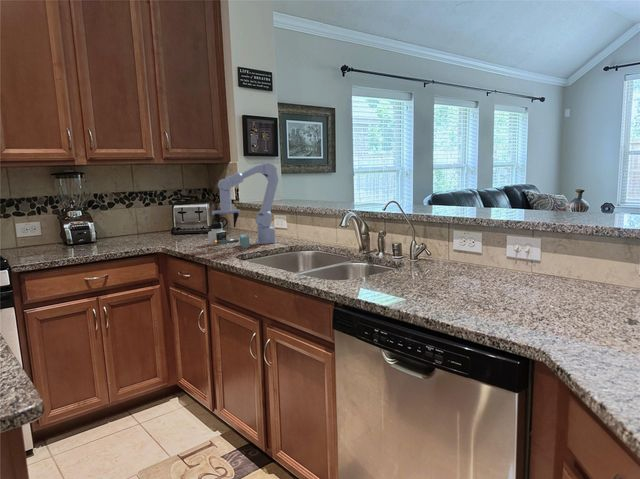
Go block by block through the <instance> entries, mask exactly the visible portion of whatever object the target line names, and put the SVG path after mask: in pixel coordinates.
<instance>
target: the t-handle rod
mask: <svg viewBox="0 0 640 479" xmlns="http://www.w3.org/2000/svg"><path fill="white" fill-rule="evenodd" d="M222 243H226V244H232V243H234V244H235V243H236V244H237V243H240V239H239V238H233V239H227V240H216V239H213V245H212V246H214V247H215V246H218V245H217V244H221V245H223V244H222Z"/></svg>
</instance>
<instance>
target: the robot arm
mask: <svg viewBox="0 0 640 479" xmlns="http://www.w3.org/2000/svg"><path fill="white" fill-rule="evenodd" d="M277 169H278V168H277V166H275V164H274V163H272V162H262V163H258V164H256V165H254V166H252V167H250V168H248V169H247V170H245V171H242V172H241V173H240V172H238V171H237V172H232V174H231V175H229V176H225V178H222V179H220V180H219V181H218V183H217V188H218V189H219V203H220V204H219V205H220V210H212V212H211V215H212V216H214V217H215V219H216V221H217V222H218V224H219V228H221V225H220V223H221V215H233V217H232V218H233V228H236V224H237V219H238V218H239V214H241V209H232V207H233V206H232V194H231V189H232V188H233V187H235V186H238V185H240V184H241V183H243V182H244V179H246V178H248V177H251V176H253V175H255V174H262V175H263V176H264V177H265V178H266V180H267V184H266V189H265V193H264V195H263V196H264V197H263V201H262V203H261V208H260V210H259V211H258V214H257V215H256V217H255V223H256V224H257V226H256V229H257V230H256V231H257V233H256V234H257V240H256V244H258V245H263V244H276V234H275V231H276V230H275V226H271V225H272V212H271V211H272V208H273V203H274V199H275V196H276V191H277V188H278V183H279V175H278V172H277V171H278V170H277Z"/></svg>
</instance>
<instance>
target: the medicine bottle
mask: <svg viewBox="0 0 640 479" xmlns="http://www.w3.org/2000/svg"><path fill="white" fill-rule="evenodd" d="M220 225H221V228H219V224H218V221H217V222H212V223H211V224H210V231H208V232H207V233H208V234H207V236H208V245H211V246H214V245H213V239H216V240H228V239H227V230H223V223H222V222H220ZM225 244H227V243H222V244H217V245H216V246H219V245H225Z"/></svg>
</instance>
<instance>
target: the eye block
mask: <svg viewBox="0 0 640 479" xmlns="http://www.w3.org/2000/svg"><path fill="white" fill-rule="evenodd" d="M239 245H240V248H242V249H247V248H248V247H250V236H249V235H248V233H246V234H239Z"/></svg>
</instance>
